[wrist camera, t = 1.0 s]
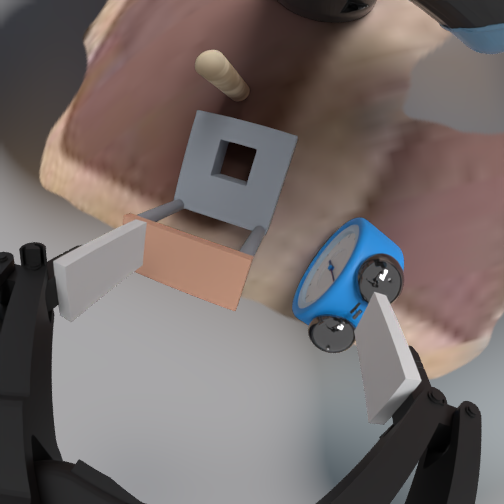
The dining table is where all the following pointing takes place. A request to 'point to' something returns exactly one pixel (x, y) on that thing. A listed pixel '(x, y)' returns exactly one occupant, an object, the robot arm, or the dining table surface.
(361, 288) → the alarm clock
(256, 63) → the dining table surface
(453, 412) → the robot arm
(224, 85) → the peg
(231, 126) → the socket station
